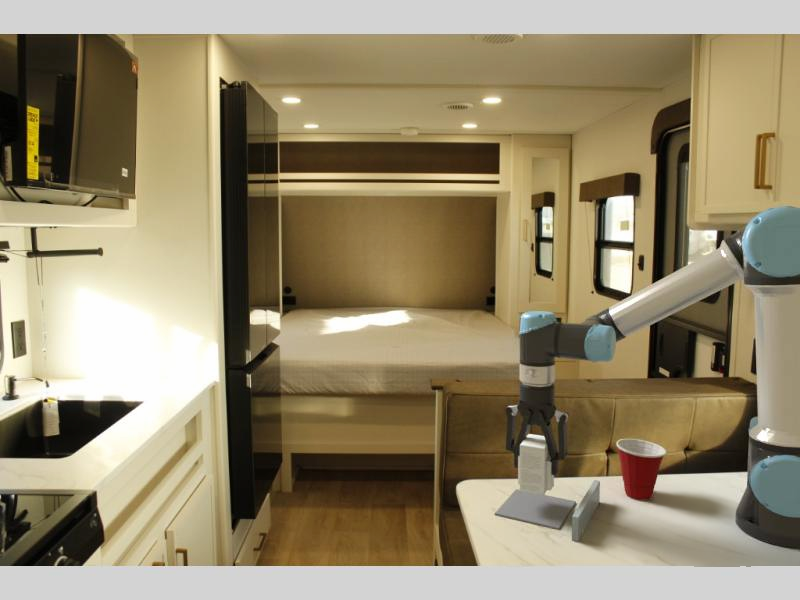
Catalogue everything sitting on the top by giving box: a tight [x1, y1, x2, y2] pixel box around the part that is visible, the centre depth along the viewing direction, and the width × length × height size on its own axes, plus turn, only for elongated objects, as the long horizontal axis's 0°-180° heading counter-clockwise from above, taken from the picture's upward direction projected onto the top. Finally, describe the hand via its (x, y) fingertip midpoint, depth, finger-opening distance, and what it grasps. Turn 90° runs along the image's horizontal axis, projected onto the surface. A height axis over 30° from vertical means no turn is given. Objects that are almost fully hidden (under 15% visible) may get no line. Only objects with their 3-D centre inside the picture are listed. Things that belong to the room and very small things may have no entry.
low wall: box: [571, 479, 601, 543], centre depth 126 cm, size 1×20×5 cm, turn 150°
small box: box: [519, 433, 550, 495], centre depth 131 cm, size 8×6×10 cm
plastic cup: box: [616, 438, 667, 501], centre depth 137 cm, size 11×11×12 cm
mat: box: [494, 488, 577, 531], centre depth 132 cm, size 14×14×1 cm
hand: (535, 484), depth 131 cm, fingers closed on small box, 6 cm apart
